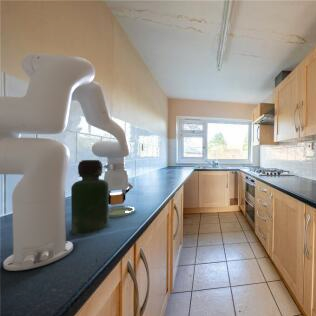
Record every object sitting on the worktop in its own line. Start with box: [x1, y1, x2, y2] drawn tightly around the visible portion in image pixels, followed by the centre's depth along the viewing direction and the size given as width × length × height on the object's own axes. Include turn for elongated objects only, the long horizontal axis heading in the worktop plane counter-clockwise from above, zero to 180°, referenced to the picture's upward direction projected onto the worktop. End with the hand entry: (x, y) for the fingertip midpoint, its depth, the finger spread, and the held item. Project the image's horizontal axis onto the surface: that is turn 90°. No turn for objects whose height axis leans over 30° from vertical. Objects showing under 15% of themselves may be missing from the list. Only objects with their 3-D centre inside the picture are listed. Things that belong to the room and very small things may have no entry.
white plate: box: [108, 206, 135, 218], centre depth 83 cm, size 11×11×2 cm
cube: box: [109, 191, 124, 206], centre depth 92 cm, size 5×5×5 cm
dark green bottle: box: [70, 159, 109, 235], centre depth 66 cm, size 10×10×25 cm
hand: (116, 202), depth 92 cm, fingers closed on cube, 5 cm apart
